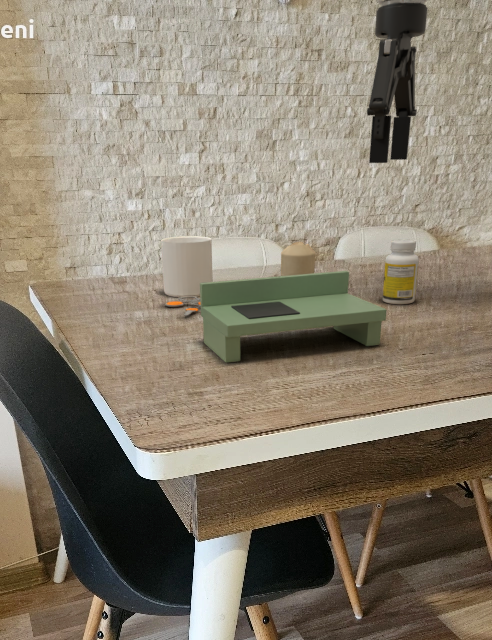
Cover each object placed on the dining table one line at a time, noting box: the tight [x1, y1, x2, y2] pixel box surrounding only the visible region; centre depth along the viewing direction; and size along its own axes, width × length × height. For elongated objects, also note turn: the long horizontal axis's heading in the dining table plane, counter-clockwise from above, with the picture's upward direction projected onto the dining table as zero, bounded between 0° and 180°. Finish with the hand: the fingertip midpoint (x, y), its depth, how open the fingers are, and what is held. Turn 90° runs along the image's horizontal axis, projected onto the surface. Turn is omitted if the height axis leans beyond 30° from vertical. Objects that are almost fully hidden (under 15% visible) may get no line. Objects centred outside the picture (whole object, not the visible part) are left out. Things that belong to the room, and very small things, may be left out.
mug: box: [160, 235, 214, 298], centre depth 122 cm, size 12×9×9 cm
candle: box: [280, 241, 316, 276], centre depth 110 cm, size 6×6×10 cm
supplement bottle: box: [382, 238, 420, 305], centre depth 111 cm, size 5×5×10 cm
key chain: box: [164, 296, 201, 317], centre depth 111 cm, size 13×7×1 cm, turn 21°
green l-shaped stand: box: [199, 270, 388, 364], centre depth 90 cm, size 12×22×8 cm, turn 108°
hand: (388, 161), depth 110 cm, fingers open, 13 cm apart
